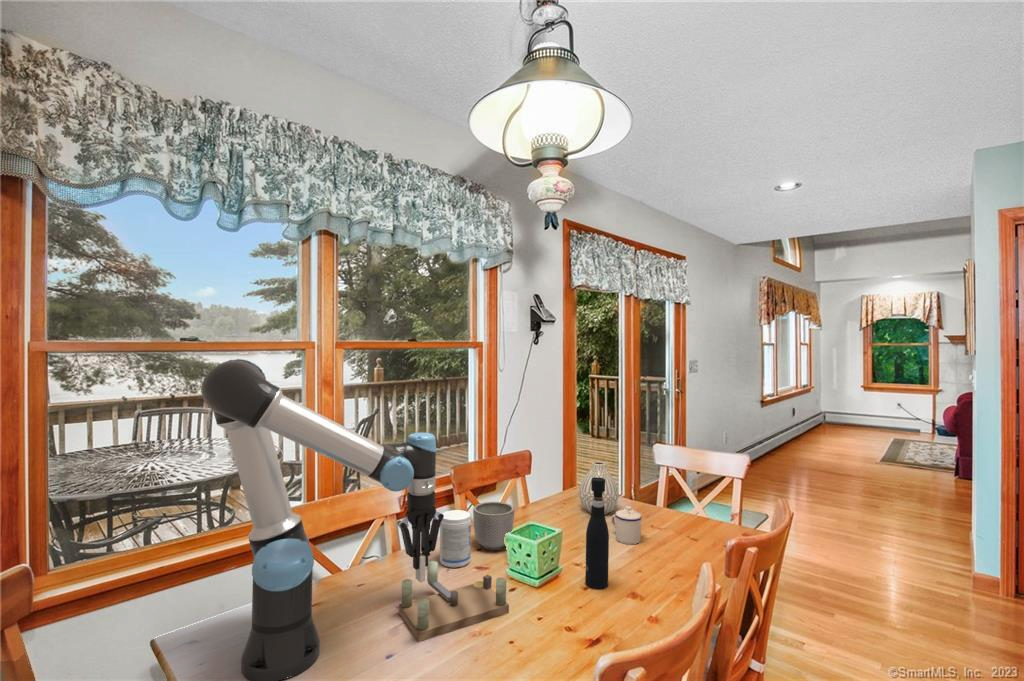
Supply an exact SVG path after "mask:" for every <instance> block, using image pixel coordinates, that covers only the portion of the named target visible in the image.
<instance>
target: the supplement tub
mask: <svg viewBox="0 0 1024 681" xmlns="http://www.w3.org/2000/svg"><path fill="white" fill-rule="evenodd" d="M442 514H443V515H444V517H443V519H442V521H441V523H440V528H439V562H440V564H441V565H443V566H445V567H447V568H452V569H453V568H461V567H464V566H467V565H468V564H469V563H470V562H471V550H472V549H471V546H472V545H471V543H472V542H471V541H472V539H471V538H472V537H471V536H472V533H471V532H472V528H471V527H472V522H471V520H472V519H471V513H470V512H469V511H465V510H463V509H453V510H452V509H450V510H447V511H444V512H442Z"/></svg>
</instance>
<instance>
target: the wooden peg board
mask: <svg viewBox="0 0 1024 681" xmlns="http://www.w3.org/2000/svg"><path fill="white" fill-rule="evenodd" d="M492 578H493V577H492V575H489V574H486V575H484V576H483V577H482V581H481V580H480V581H476V582H474V583H471V584H469V585H464V586H462V587H456V588H454V589H450V590H449V589H448V591H450V592H451V601H449V602H448V601H447V600H446V599H445V598H444V597H442V596H441V595H440V594H439V593H436V594H432V595H428V596H425V597H420V598H418V599H414V600H413V580H412V579H409V578H406V579H403V580H402V581H401V603H399V604H398V614H400V616H401V618H402V619H403V621H404V622H405V624H406V625H407V626H408V628H409V629H410V631H411V632H412V634H413V635H414V637H415V638H416V639H417V641H418V642H422V641H425V640H428V639H431V638H435V637H438V636H441V635H443V634H446V633H449V632H452V631H456V630H459V629H463V628H466V627H468V626H472V625H475V624H479V623H480V622H484V621H487V620H491V619H493V618H496V617H499V616H503V615H506V614H509V613H510V604H509V603H508V602H507V578H505V577H497V578H496V579H495V591H494V590H493V589H492Z"/></svg>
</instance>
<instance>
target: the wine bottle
mask: <svg viewBox="0 0 1024 681" xmlns="http://www.w3.org/2000/svg"><path fill="white" fill-rule="evenodd" d="M591 490H592V491H594V496H593V497H594V498H593V500H592V502H593V503H592V504H593V505H592V506H591V513H590V518H589V519H588V520H589V521H588V523H587V526H586V531H585V576H584V577H585V578H584V579H585V580H584V581H585V582H584V583H585V585H586V586H587V587H588V588H589V589H593V590H605V589H607V588H608V587H609V548H610V544H609V543H610V542H609V541H610V539H609V538H610V533H609V527H608V526H609V525H608V522H607V520H606V517H605V515H604V510H605V507H604V506H603V505H604V504H603V503H604V501H603V499H602V498H603V496H602V495H603V492H604V491H605V479H604V478H599V477H594V478H592V479H591Z"/></svg>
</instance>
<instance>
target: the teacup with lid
mask: <svg viewBox="0 0 1024 681" xmlns="http://www.w3.org/2000/svg"><path fill="white" fill-rule="evenodd" d="M642 518H643V517H642V514H641V513H640V512H638V511H636V510H634V509H633V508H632V506H628V505H626V506H625V508H623V509H619V510H617V511H616V512H615V514H612V515H611V518H610V521H611V522H610V523H611V525H612V526H613V528H614V529H615V539H616V541H617V542H619V543H621V544H623V543H624V544H625V545H630V544H632V545H637V543H638V544H639V543H641V541H642V540H641V536H642V527H641V526H642Z"/></svg>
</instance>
